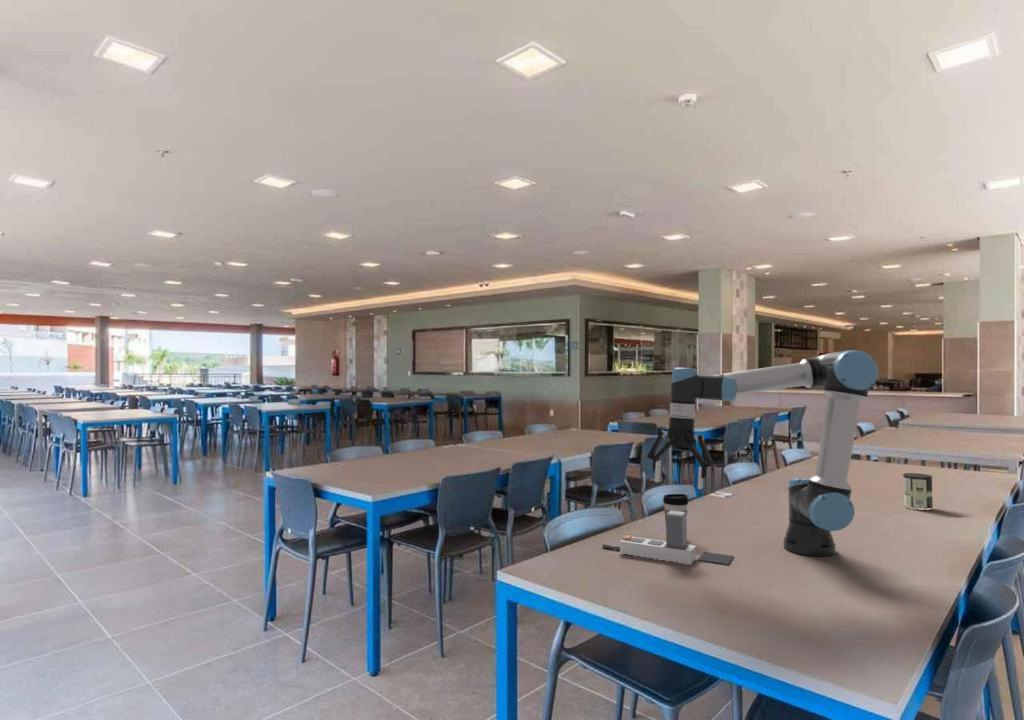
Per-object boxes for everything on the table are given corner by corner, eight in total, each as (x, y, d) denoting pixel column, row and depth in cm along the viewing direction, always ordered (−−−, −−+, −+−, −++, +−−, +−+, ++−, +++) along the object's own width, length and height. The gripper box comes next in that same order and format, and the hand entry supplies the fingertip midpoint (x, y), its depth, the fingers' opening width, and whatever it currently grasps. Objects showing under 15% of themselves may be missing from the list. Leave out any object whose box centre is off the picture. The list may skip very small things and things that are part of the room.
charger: (686, 544, 183) (686, 512, 183) (682, 548, 178) (682, 515, 179) (670, 542, 185) (670, 510, 185) (666, 546, 181) (666, 513, 181)
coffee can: (921, 505, 256) (921, 472, 256) (938, 511, 245) (938, 477, 246) (898, 505, 256) (897, 472, 256) (913, 511, 245) (913, 477, 246)
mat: (733, 557, 183) (733, 556, 183) (728, 565, 176) (728, 564, 176) (703, 553, 188) (703, 551, 188) (697, 560, 180) (697, 559, 180)
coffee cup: (689, 542, 200) (689, 498, 200) (663, 541, 201) (663, 497, 202) (687, 535, 208) (687, 493, 208) (662, 534, 210) (662, 492, 210)
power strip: (695, 558, 182) (695, 542, 182) (690, 564, 176) (690, 548, 176) (606, 545, 197) (606, 530, 197) (599, 550, 190) (599, 535, 191)
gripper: (639, 413, 188) (636, 480, 188) (719, 421, 174) (715, 493, 174) (648, 413, 194) (644, 477, 194) (726, 420, 180) (722, 489, 180)
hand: (678, 485), depth 184 cm, fingers open, 13 cm apart
